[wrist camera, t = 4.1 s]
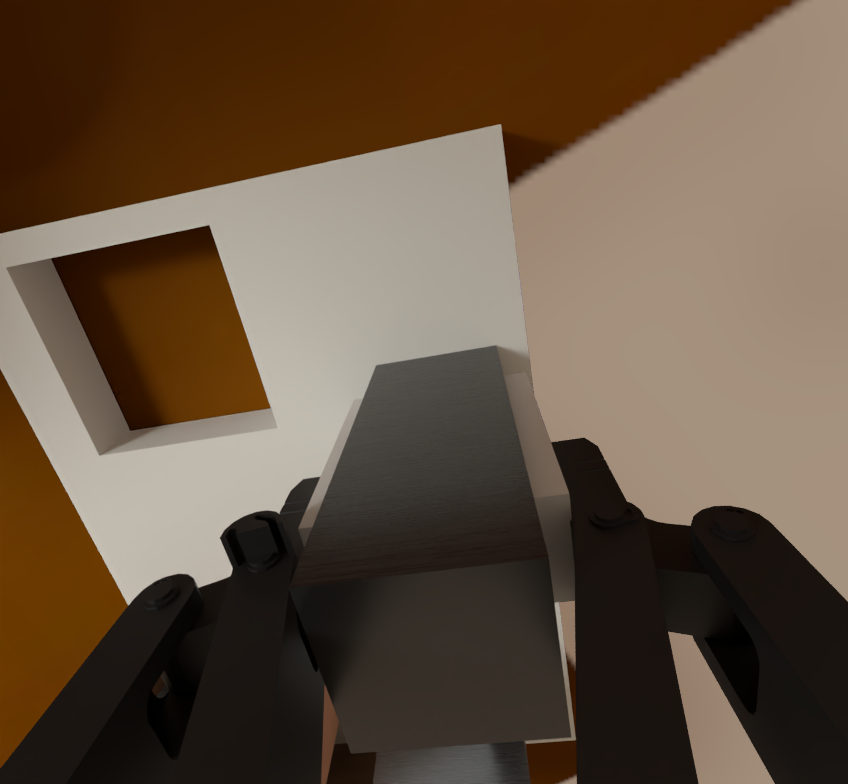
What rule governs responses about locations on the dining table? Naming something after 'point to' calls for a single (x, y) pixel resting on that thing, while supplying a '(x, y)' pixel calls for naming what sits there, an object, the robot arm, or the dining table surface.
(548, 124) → the dining table surface
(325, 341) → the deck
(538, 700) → the grey u-shaped bracket
